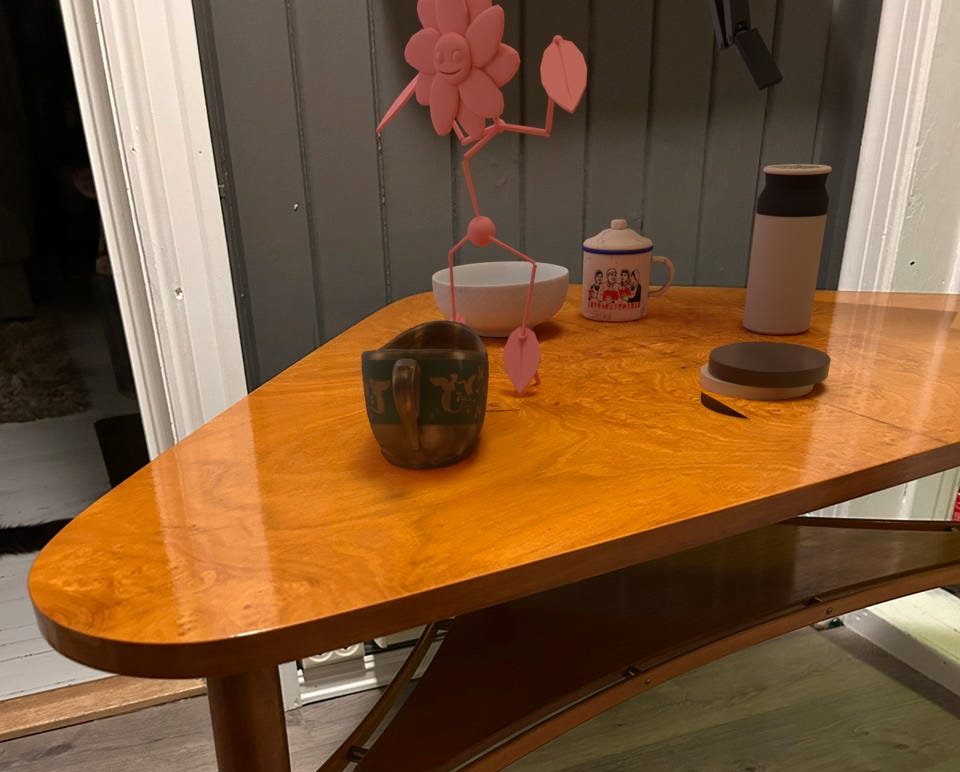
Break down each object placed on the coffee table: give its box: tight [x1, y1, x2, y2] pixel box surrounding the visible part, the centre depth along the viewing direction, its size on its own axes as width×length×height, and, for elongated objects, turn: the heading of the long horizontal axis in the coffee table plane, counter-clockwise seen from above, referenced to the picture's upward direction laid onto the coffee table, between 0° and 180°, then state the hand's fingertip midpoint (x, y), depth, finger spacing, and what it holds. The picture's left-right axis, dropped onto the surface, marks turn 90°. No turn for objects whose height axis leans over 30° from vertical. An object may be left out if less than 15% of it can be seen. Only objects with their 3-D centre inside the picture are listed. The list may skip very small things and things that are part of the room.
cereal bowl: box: [431, 261, 570, 338], centre depth 117 cm, size 17×17×7 cm
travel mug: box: [742, 163, 833, 336], centre depth 111 cm, size 8×8×18 cm
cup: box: [360, 319, 490, 471], centre depth 79 cm, size 13×20×10 cm, turn 147°
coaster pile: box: [698, 341, 832, 420], centre depth 89 cm, size 12×11×4 cm
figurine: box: [375, 0, 588, 413], centre depth 87 cm, size 15×26×35 cm, turn 48°
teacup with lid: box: [581, 218, 675, 323], centre depth 121 cm, size 12×9×12 cm
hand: (799, 37), depth 97 cm, fingers open, 13 cm apart
